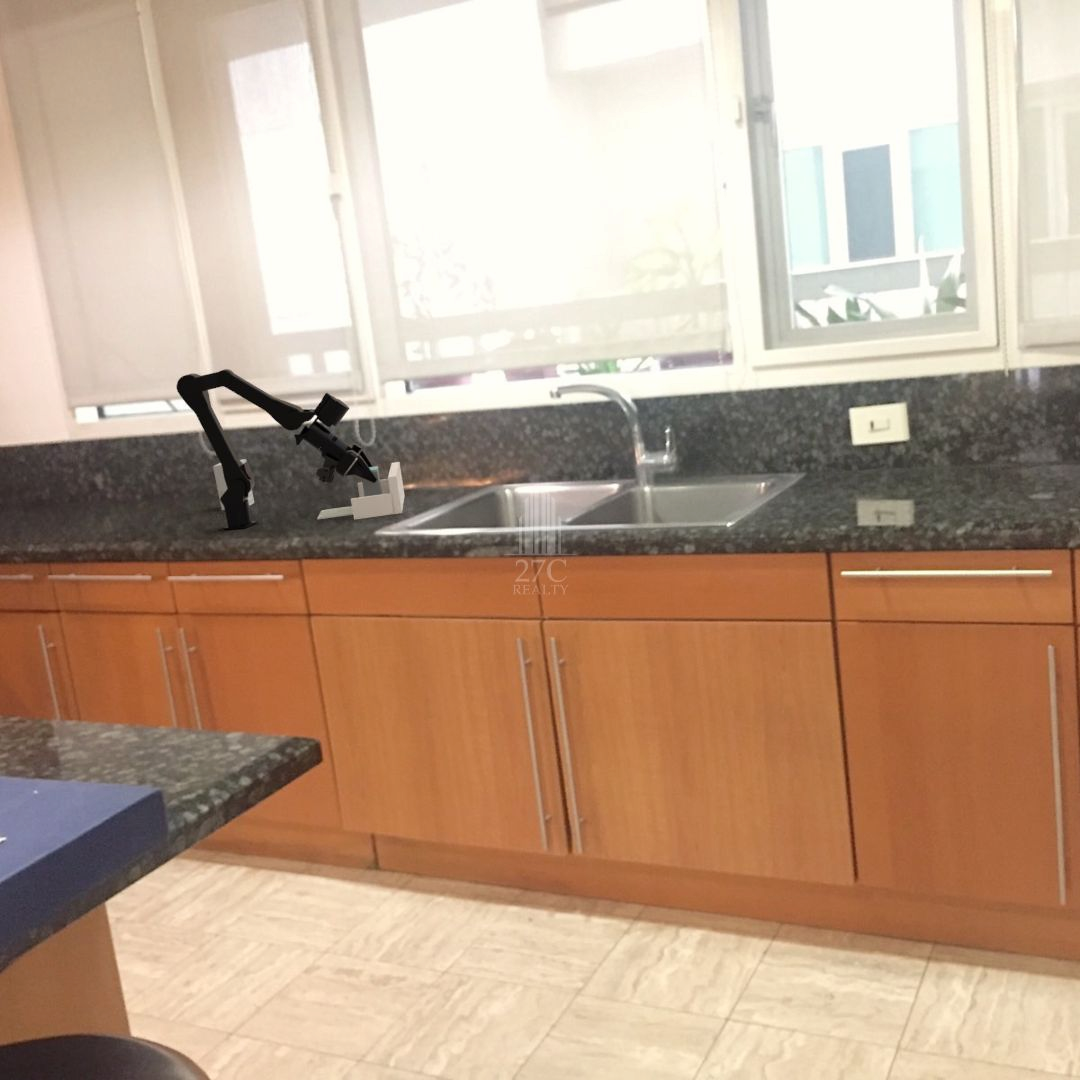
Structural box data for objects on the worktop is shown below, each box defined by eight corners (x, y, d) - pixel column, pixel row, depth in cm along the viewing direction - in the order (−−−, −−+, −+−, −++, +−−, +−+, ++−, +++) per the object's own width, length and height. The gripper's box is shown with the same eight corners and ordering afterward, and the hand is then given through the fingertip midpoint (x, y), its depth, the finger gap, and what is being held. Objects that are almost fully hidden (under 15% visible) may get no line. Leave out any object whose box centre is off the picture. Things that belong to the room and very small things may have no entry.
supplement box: (255, 502, 333) (247, 458, 330) (246, 508, 325) (238, 462, 323) (230, 505, 334) (221, 461, 331) (220, 510, 326) (212, 465, 324)
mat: (317, 519, 292) (317, 518, 292) (321, 511, 303) (321, 510, 303) (358, 513, 293) (357, 512, 292) (360, 506, 303) (360, 504, 303)
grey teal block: (366, 511, 295) (360, 471, 293) (368, 507, 301) (362, 468, 299) (382, 508, 295) (376, 469, 293) (384, 504, 301) (377, 466, 299)
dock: (354, 519, 285) (348, 482, 283) (360, 501, 311) (355, 467, 309) (401, 512, 286) (396, 476, 284) (404, 495, 311) (399, 461, 309)
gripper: (309, 462, 304) (359, 498, 307) (301, 472, 286) (355, 511, 289) (335, 427, 303) (385, 464, 306) (329, 435, 284) (382, 474, 287)
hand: (376, 479), depth 297 cm, fingers open, 8 cm apart
